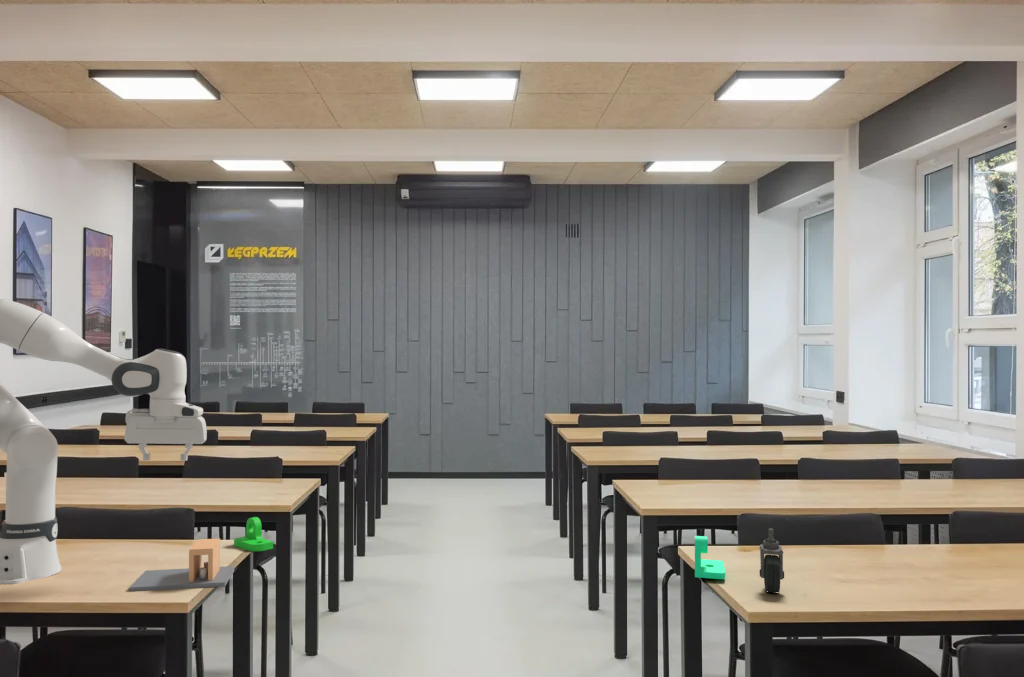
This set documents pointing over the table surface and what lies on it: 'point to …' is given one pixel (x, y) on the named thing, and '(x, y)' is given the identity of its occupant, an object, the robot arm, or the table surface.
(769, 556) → the caster wheel
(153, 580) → the plate
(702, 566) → the camera mount
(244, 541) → the mechanical part
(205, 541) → the arch block
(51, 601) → the table surface
